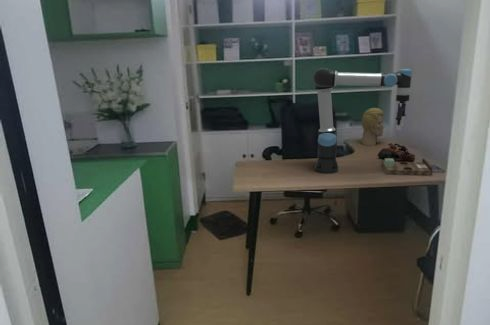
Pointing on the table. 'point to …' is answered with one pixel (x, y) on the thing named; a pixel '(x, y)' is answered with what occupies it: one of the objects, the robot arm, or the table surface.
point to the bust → (372, 126)
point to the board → (409, 168)
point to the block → (389, 162)
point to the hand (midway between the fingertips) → (399, 128)
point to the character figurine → (397, 153)
